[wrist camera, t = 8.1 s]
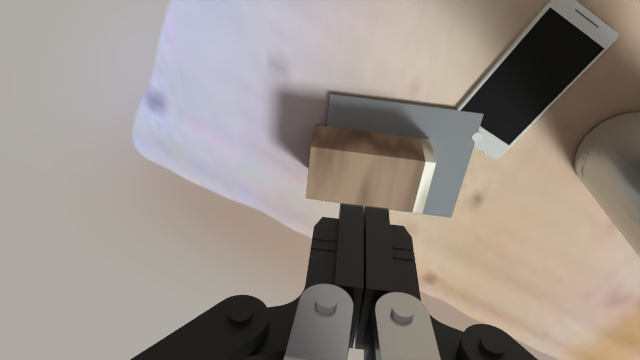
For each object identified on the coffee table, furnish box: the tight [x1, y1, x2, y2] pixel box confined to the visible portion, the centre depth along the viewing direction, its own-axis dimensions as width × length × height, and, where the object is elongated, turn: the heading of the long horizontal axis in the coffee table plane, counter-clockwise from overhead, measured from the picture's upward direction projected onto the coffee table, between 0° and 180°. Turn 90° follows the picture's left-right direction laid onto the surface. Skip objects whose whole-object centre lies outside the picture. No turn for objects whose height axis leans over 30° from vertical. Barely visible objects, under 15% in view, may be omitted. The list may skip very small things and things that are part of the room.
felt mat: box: [320, 93, 484, 218], centre depth 49 cm, size 16×13×1 cm
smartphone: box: [457, 0, 619, 159], centre depth 43 cm, size 7×16×1 cm, turn 149°
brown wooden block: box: [306, 125, 436, 214], centre depth 46 cm, size 5×6×12 cm
